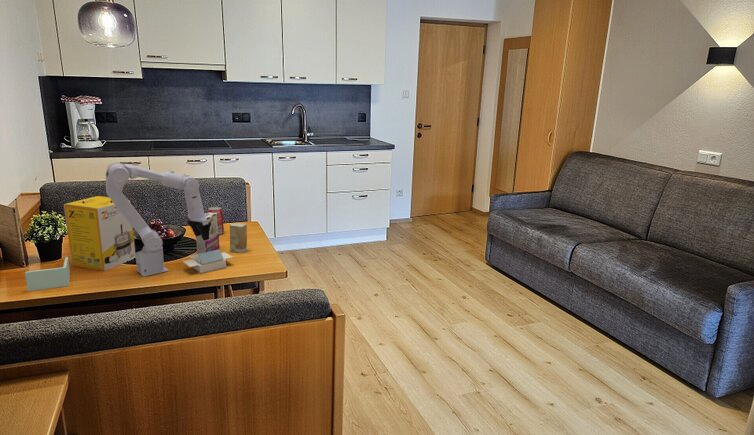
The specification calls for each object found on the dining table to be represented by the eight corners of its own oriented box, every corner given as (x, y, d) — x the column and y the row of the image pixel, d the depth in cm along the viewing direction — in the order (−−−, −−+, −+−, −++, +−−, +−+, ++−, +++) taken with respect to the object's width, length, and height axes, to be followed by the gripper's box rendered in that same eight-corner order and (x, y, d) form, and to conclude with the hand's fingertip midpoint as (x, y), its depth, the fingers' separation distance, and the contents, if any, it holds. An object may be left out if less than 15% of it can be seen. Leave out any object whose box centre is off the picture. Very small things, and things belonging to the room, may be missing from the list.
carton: (191, 275, 189) (190, 262, 187) (178, 266, 198) (177, 253, 196) (234, 265, 200) (233, 252, 199) (220, 257, 209) (219, 244, 208)
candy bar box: (209, 247, 221) (207, 212, 217) (219, 248, 220) (218, 212, 216) (196, 255, 211) (193, 218, 206) (206, 256, 210) (204, 219, 205)
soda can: (227, 233, 241) (225, 207, 238) (215, 236, 235) (213, 210, 232) (217, 230, 245) (215, 205, 241) (205, 234, 239) (203, 208, 236)
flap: (201, 264, 191) (201, 263, 190) (197, 254, 192) (197, 253, 192) (223, 259, 197) (223, 258, 196) (219, 249, 198) (219, 249, 198)
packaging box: (105, 252, 209) (98, 195, 203) (136, 258, 205) (130, 199, 198) (71, 265, 194) (63, 204, 188) (104, 271, 190) (96, 208, 183)
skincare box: (229, 251, 216) (228, 225, 213) (234, 248, 221) (233, 222, 217) (243, 253, 215) (242, 226, 212) (247, 250, 219) (246, 223, 216)
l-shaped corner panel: (70, 275, 186) (68, 257, 184) (68, 287, 176) (65, 267, 174) (32, 280, 180) (29, 261, 178) (28, 292, 170) (24, 272, 168)
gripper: (212, 206, 192) (219, 238, 196) (196, 200, 202) (203, 230, 207) (195, 211, 187) (202, 244, 192) (180, 205, 198) (187, 236, 202)
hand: (202, 237), depth 199 cm, fingers open, 7 cm apart
